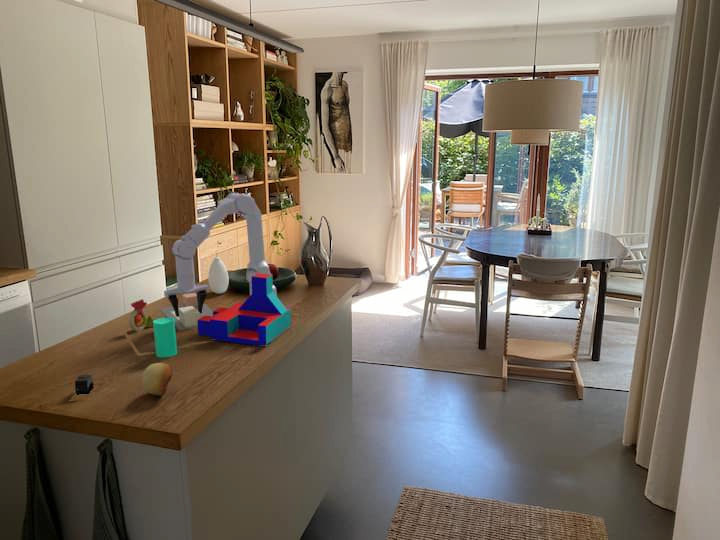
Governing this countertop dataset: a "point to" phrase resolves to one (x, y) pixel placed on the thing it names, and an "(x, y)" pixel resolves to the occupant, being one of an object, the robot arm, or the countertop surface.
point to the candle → (165, 337)
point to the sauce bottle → (218, 276)
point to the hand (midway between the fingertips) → (188, 314)
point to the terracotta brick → (190, 300)
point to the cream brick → (189, 316)
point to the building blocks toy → (249, 317)
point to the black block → (84, 384)
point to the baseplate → (171, 313)
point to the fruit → (157, 378)
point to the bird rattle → (139, 321)
